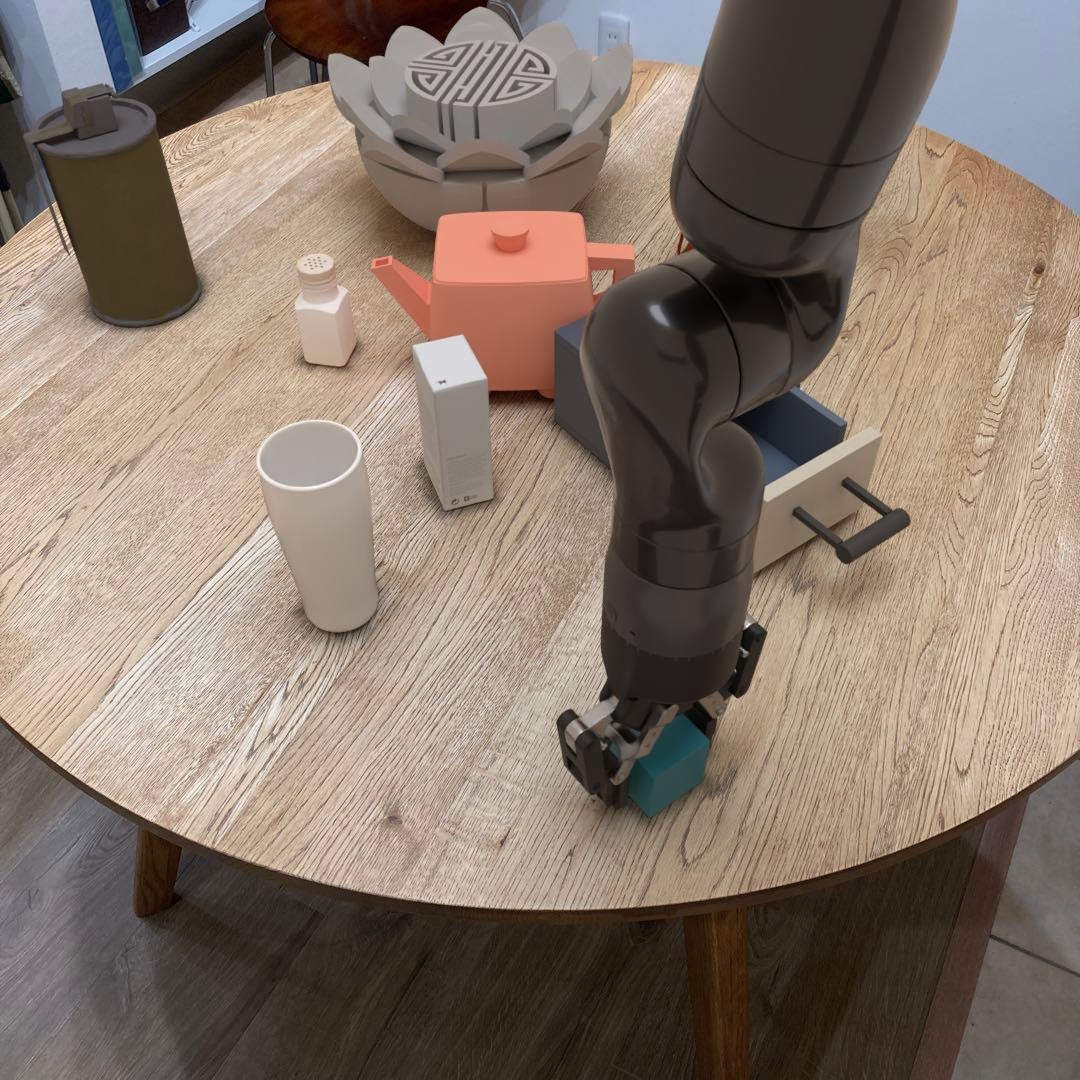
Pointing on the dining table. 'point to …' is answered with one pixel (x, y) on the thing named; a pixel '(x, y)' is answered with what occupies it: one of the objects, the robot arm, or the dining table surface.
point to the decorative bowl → (482, 117)
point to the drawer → (814, 479)
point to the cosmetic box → (454, 421)
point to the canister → (116, 205)
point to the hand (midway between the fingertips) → (654, 768)
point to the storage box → (576, 392)
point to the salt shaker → (323, 312)
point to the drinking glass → (322, 519)
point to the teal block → (668, 766)
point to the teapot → (506, 288)
